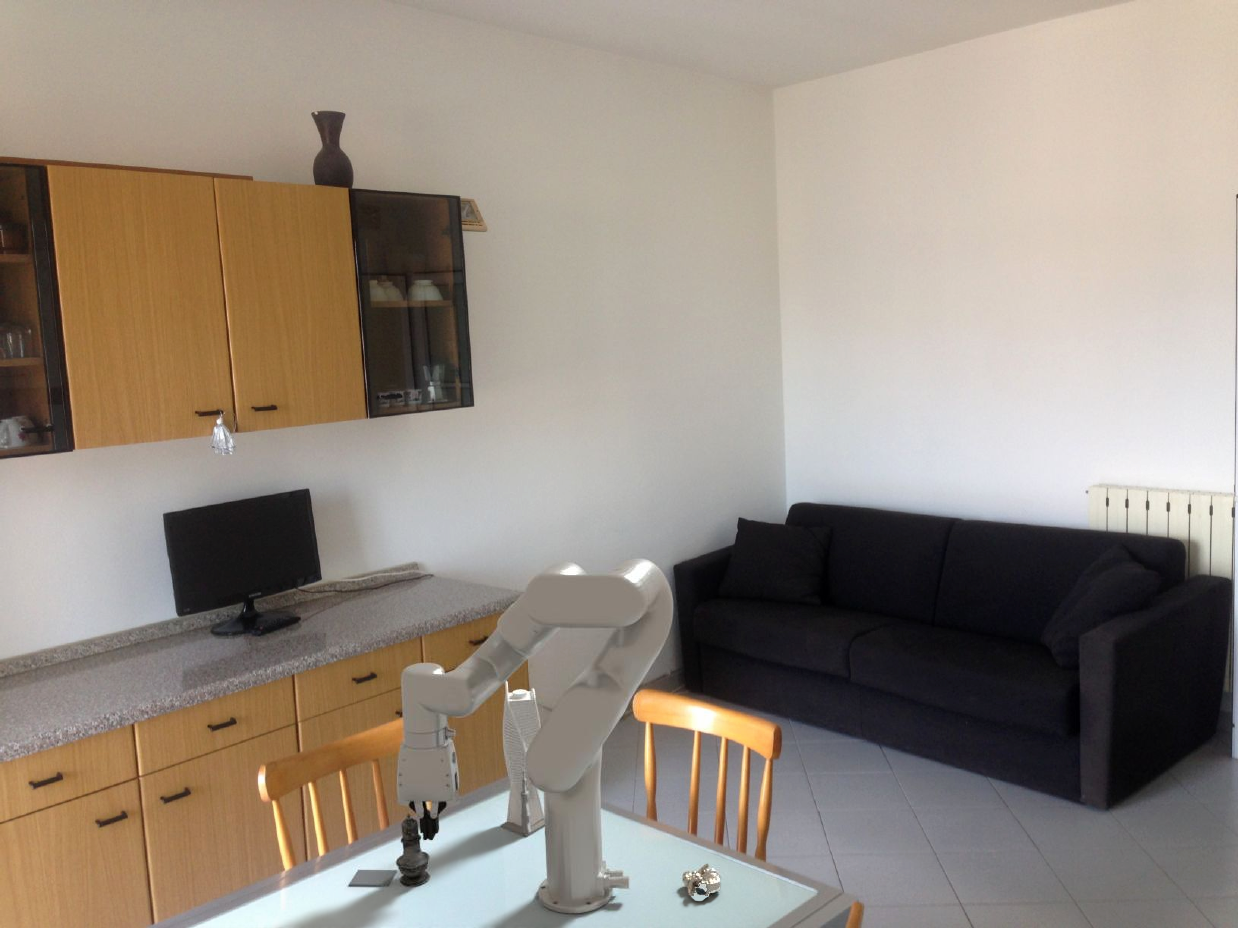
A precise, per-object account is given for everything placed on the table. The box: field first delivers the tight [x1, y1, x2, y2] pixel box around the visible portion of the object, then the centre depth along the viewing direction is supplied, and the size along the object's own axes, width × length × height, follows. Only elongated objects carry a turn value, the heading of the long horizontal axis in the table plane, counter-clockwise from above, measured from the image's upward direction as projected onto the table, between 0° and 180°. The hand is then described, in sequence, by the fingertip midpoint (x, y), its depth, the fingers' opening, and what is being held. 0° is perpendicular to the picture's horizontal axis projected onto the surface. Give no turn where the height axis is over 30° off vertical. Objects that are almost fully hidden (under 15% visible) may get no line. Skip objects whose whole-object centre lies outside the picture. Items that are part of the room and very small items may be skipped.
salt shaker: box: [395, 813, 431, 888], centre depth 181 cm, size 6×6×12 cm
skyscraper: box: [499, 680, 545, 838], centre depth 200 cm, size 8×8×28 cm
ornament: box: [682, 863, 722, 896], centre depth 175 cm, size 8×7×4 cm
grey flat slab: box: [348, 869, 398, 887], centre depth 182 cm, size 7×5×1 cm
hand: (429, 836), depth 181 cm, fingers closed
